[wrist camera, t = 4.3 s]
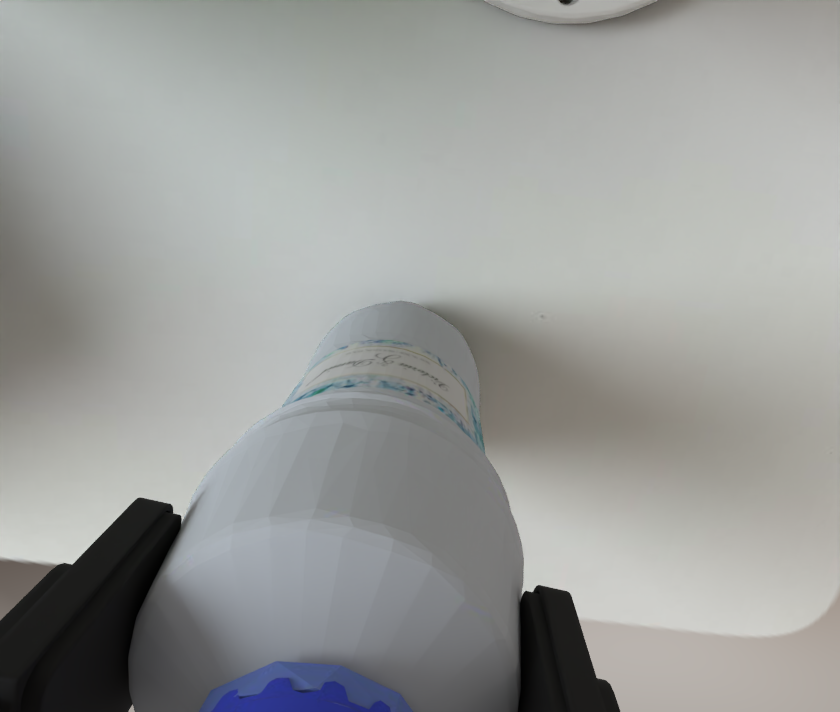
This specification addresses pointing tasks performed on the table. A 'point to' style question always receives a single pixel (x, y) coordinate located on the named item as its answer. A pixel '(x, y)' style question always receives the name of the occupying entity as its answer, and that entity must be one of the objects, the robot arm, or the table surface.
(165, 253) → the table surface
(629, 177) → the table surface
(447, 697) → the bottle
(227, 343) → the table surface
